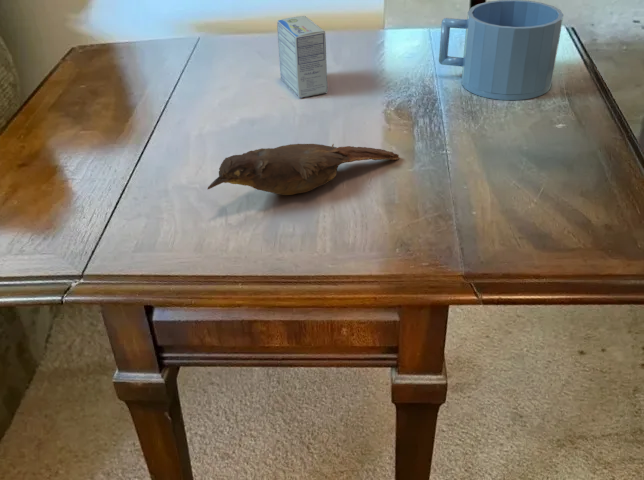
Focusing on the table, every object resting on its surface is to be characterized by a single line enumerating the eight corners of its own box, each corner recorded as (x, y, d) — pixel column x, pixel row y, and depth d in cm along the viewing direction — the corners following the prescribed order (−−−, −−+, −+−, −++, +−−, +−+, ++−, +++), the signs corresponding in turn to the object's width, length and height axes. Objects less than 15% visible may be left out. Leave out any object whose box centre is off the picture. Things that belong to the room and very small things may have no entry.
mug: (556, 71, 110) (568, 3, 104) (544, 104, 101) (556, 31, 95) (447, 61, 114) (452, -5, 109) (427, 92, 106) (431, 21, 100)
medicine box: (328, 93, 107) (326, 30, 101) (298, 99, 105) (295, 35, 100) (308, 75, 112) (306, 14, 107) (279, 80, 111) (276, 19, 106)
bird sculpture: (408, 184, 90) (415, 144, 87) (220, 218, 78) (221, 172, 75) (375, 165, 95) (380, 126, 92) (191, 195, 82) (191, 150, 80)
